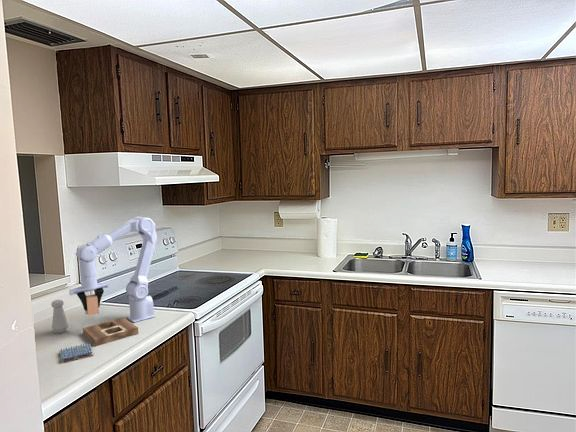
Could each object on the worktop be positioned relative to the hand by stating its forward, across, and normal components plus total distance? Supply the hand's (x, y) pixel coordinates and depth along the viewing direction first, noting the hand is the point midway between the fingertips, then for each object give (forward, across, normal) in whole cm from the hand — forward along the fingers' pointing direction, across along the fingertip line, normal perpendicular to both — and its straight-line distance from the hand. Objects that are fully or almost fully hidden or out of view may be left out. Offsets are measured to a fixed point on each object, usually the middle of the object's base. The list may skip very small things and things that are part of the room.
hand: (91, 308), depth 170 cm
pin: (+2, 0, 0) cm, 2 cm away
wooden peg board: (+9, -4, +8) cm, 13 cm away
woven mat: (+10, +11, +19) cm, 24 cm away
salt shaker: (+10, +10, -9) cm, 17 cm away
